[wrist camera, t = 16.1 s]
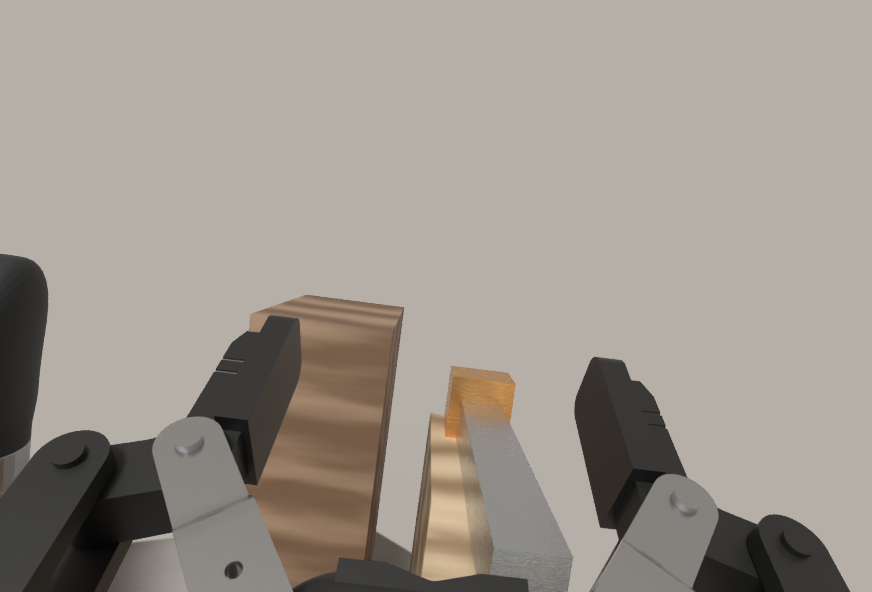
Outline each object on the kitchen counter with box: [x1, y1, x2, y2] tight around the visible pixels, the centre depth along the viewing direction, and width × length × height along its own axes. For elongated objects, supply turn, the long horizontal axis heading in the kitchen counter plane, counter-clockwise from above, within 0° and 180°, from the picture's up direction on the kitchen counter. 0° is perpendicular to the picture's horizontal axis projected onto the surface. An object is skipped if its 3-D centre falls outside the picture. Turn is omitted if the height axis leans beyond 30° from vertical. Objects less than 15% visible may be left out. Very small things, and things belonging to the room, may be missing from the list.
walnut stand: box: [245, 295, 404, 588], centre depth 44 cm, size 16×10×32 cm, turn 1°
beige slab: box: [409, 413, 476, 581], centre depth 42 cm, size 18×8×22 cm, turn 1°
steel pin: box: [444, 366, 573, 592], centre depth 35 cm, size 26×6×6 cm, turn 1°
